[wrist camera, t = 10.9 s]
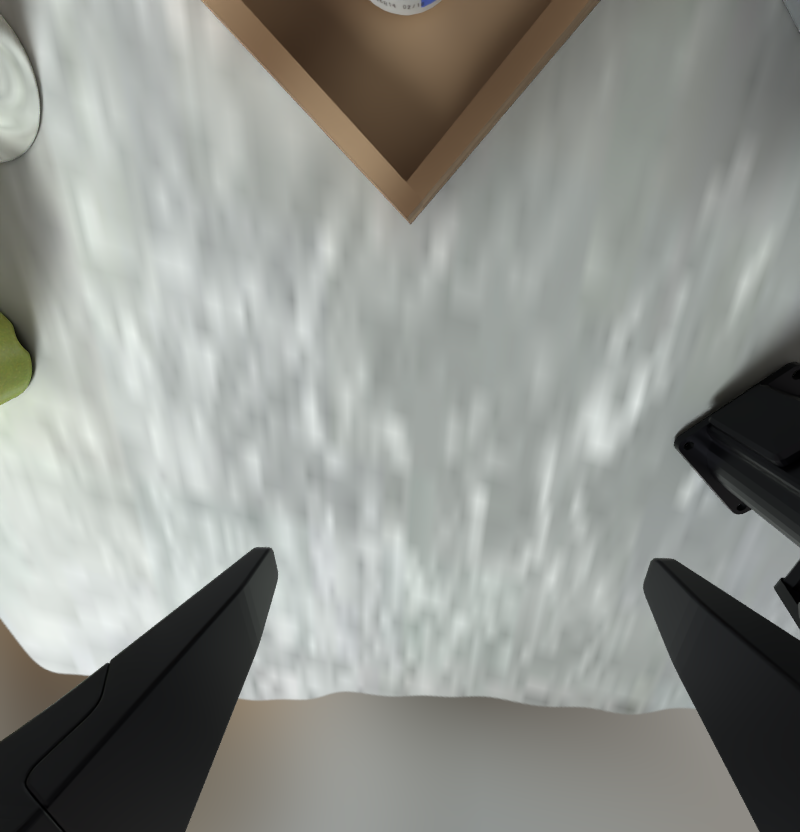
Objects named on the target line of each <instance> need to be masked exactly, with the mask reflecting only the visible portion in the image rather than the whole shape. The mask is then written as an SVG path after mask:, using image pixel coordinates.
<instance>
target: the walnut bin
mask: <svg viewBox="0 0 800 832" xmlns="http://www.w3.org/2000/svg"><path fill="white" fill-rule="evenodd" d="M201 1H202V2H203V3H204V4H205V5H206V6H207V7H208V8H209V9H210V10H211V11H212V13H213V14H214V15H215V16H216V17H217V18H218V19H219V20H220V21H221V22H222V23H223V24H224V25H225V26H226V28H227V29H228V30H229V31H230V32H231V33H232V34H233V35H234V36H235V37H236V38H237V39H238V40H239V41H240V42H241V44H242V45H243V46H244V47H245V48H246V49H247V50H248V51H249V52H250V53H251V54H252V55H253V56H254V57H255V59H256V60H257V61H258V62H259V63H260V64H261V65H262V66H263V67H264V68H265V69H266V70H267V71H268V72H269V73H270V75H271V76H272V77H273V78H274V79H275V80H276V81H277V82H278V83H279V84H280V85H281V86H282V87H283V88H284V90H285V91H286V92H287V93H288V94H289V95H290V96H291V97H292V98H293V99H294V100H295V101H296V102H297V103H298V104H299V106H300V107H301V108H302V109H303V110H304V111H305V112H306V113H307V114H308V115H309V116H310V117H311V118H312V119H313V121H314V122H315V123H316V124H317V125H318V126H319V127H320V128H321V129H322V130H323V131H324V132H325V133H326V134H327V136H328V137H329V138H330V139H331V140H332V141H333V142H334V143H335V144H336V145H337V146H338V147H339V148H340V149H341V150H342V152H343V153H344V154H345V155H346V156H347V157H348V158H349V159H350V160H351V161H352V162H353V163H354V164H355V165H356V167H357V168H358V169H359V170H360V171H361V172H362V173H363V174H364V175H365V176H366V177H367V178H368V179H369V180H370V181H371V183H372V184H373V185H374V186H375V187H376V188H377V189H378V190H379V191H380V192H381V193H382V194H383V195H384V196H385V198H386V199H387V200H388V201H389V202H390V203H391V204H392V205H393V206H394V207H395V208H396V209H397V210H398V211H399V212H400V214H401V215H402V216H403V217H404V218H405V219H406V220H407V221H408V222H409V223H410V224H411V223H412V222H413V221H414V220H415V219H416V217H417V216H418V215H419V214H420V213H421V212H422V210H423V209H424V208H425V207H426V206H427V204H428V203H429V202H430V201H431V200H432V199H433V197H434V196H435V195H436V194H437V193H438V192H439V190H440V189H441V188H442V187H443V186H444V184H445V183H446V182H447V181H448V180H449V179H450V177H451V176H452V175H453V174H454V173H455V171H456V170H457V169H458V168H459V167H460V166H461V164H462V163H463V162H464V161H465V160H466V158H467V157H468V156H469V155H470V154H471V153H472V151H473V150H474V149H475V148H476V147H477V145H478V144H479V143H480V142H481V141H482V140H483V138H484V137H485V136H486V135H487V134H488V133H489V131H490V130H491V129H492V128H493V127H494V125H495V124H496V123H497V122H498V121H499V120H500V118H501V117H502V116H503V115H504V114H505V112H506V111H507V110H508V109H509V108H510V107H511V105H512V104H513V103H514V102H515V101H516V99H517V98H518V97H519V96H520V95H521V94H522V92H523V91H524V90H525V89H526V88H527V86H528V85H529V84H530V83H531V82H532V81H533V79H534V78H535V77H536V76H537V75H538V74H539V72H540V71H541V70H542V69H543V68H544V66H545V65H546V64H547V63H548V62H549V61H550V59H551V58H552V57H553V56H554V55H555V53H556V52H557V51H558V50H559V49H560V48H561V46H562V45H563V44H564V43H565V42H566V40H567V39H568V38H569V37H570V36H571V35H572V33H573V32H574V31H575V30H576V29H577V27H578V26H579V25H580V24H581V23H582V22H583V20H584V19H585V18H586V17H587V16H588V15H589V13H590V12H591V11H592V10H593V9H594V7H595V6H596V5H597V4H598V3H599V2H600V0H442V1H441V2H439V3H438V4H437V5H435V6H434V7H433V8H431V9H429V10H427V11H424V12H422V13H418V14H413V15H399V14H394V13H390V12H387V11H384V10H383V9H381V8H379V7H378V6H376V5H375V4H373V3H372V2H371V1H370V0H201Z"/></svg>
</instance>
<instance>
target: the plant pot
mask: <svg viewBox="0 0 800 832" xmlns="http://www.w3.org/2000/svg"><path fill="white" fill-rule="evenodd" d="M31 374H32V364H31V358H30V355H29V353H28V351H26V350H25V349H24V348H23V347H22V346H21V344H20V343H19V341H18V340H17V338H16V335H15V332H14V327H13V325H12V324H11V322H10V321H9V320H8V319H7V318H6V317H5V316H4V315H3V314H2V313H0V405H1V404H3V403H5V402H7V401H9V400H11V399H13V398H15V397H17V396H19V395H20V394H21V393H23V392H24V391H25V389H26V388H27V386H28V385H29V382H30V380H31Z"/></svg>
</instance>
